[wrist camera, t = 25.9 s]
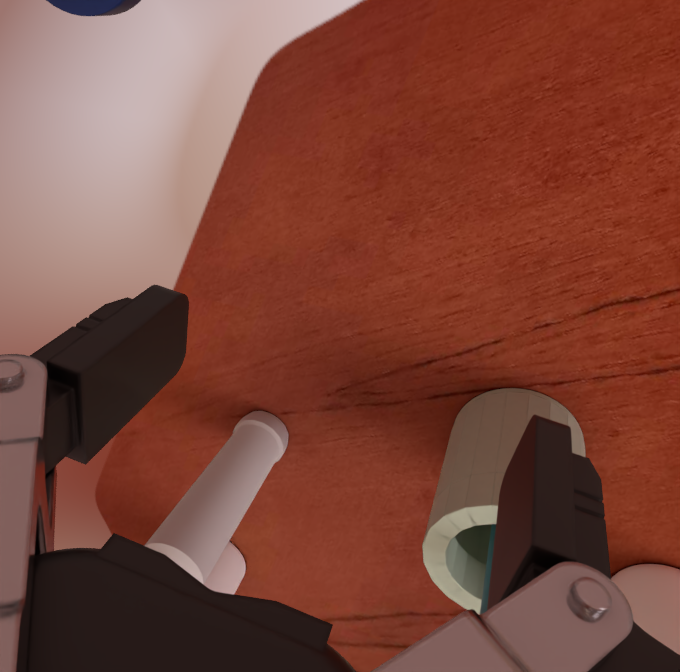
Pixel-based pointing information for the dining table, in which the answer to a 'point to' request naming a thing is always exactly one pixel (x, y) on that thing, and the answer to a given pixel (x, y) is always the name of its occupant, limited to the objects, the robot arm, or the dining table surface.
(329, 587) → the dining table surface
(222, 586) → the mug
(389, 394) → the dining table surface
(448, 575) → the faceted pencil holder
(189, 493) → the bottle
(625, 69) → the dining table surface
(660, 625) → the cup
